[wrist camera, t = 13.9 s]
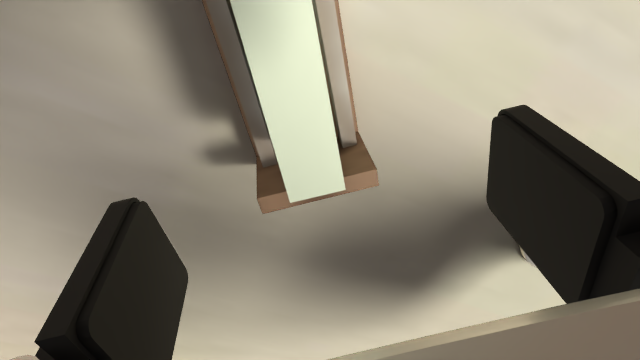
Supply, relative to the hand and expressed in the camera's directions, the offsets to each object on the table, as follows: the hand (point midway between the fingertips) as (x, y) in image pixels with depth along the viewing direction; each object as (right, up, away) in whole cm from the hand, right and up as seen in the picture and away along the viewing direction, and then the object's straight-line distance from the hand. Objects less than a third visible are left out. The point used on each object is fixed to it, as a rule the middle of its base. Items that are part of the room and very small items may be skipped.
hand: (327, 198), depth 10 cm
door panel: (-3, +11, +16) cm, 20 cm away
